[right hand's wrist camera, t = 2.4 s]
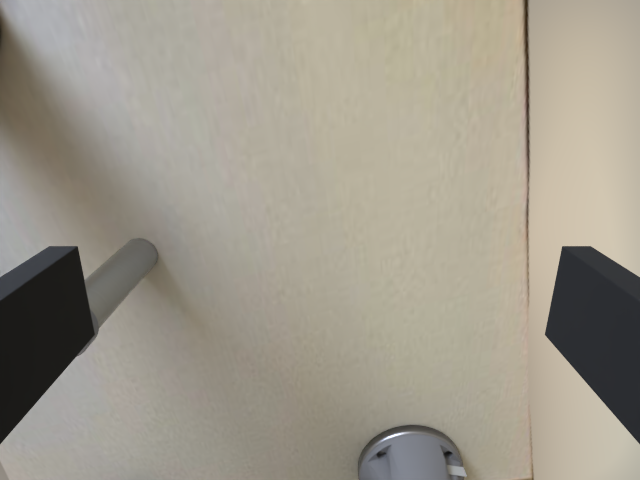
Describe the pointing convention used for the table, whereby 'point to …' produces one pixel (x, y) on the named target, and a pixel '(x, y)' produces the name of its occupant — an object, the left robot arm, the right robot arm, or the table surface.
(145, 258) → the grey capped cylinder
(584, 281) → the right robot arm
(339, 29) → the table surface
